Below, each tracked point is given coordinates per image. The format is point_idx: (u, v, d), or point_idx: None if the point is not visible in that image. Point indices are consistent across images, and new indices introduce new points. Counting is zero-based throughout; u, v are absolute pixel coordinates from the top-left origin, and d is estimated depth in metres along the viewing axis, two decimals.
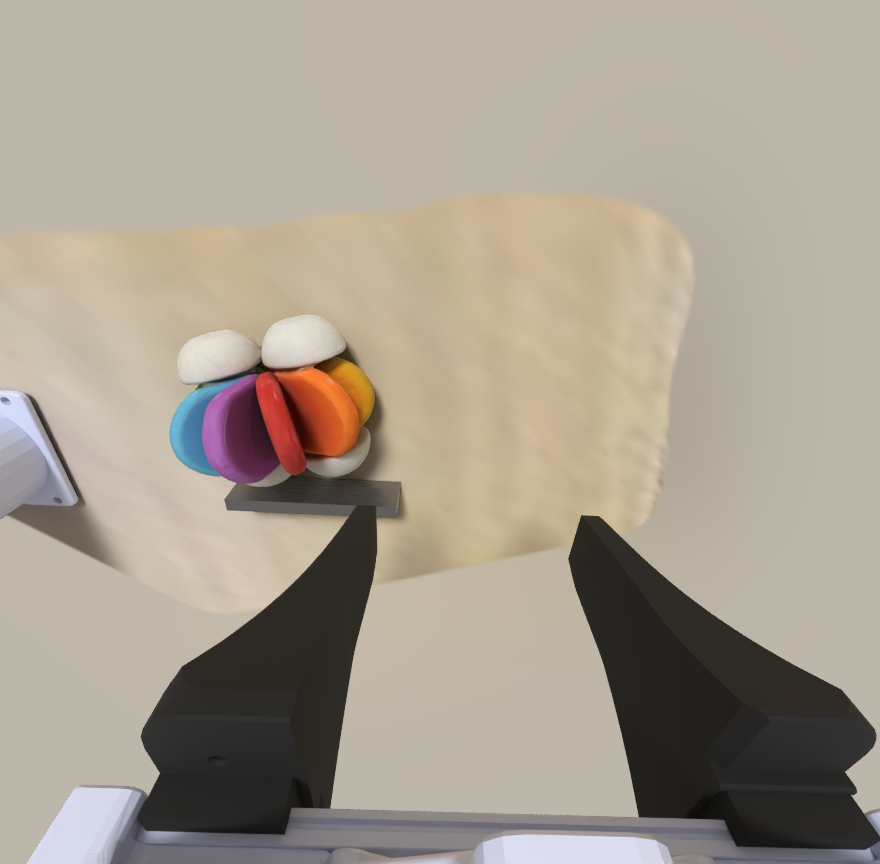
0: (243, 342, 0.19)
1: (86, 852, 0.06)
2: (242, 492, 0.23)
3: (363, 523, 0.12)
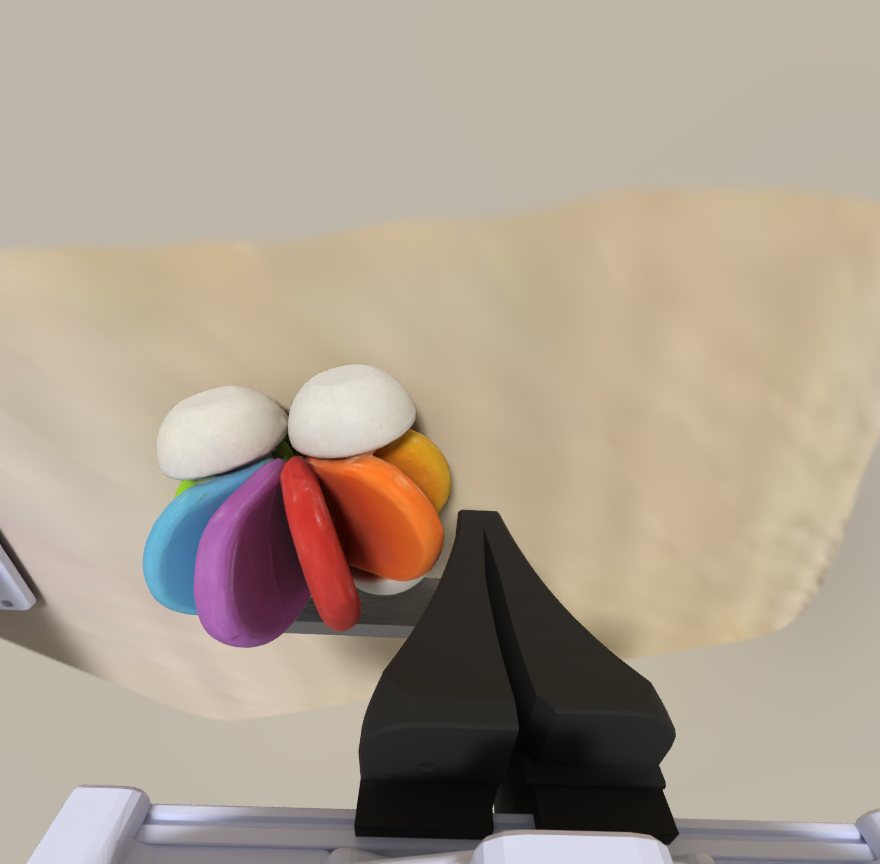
0: (259, 409, 0.12)
1: (86, 852, 0.06)
2: None
3: (476, 528, 0.12)
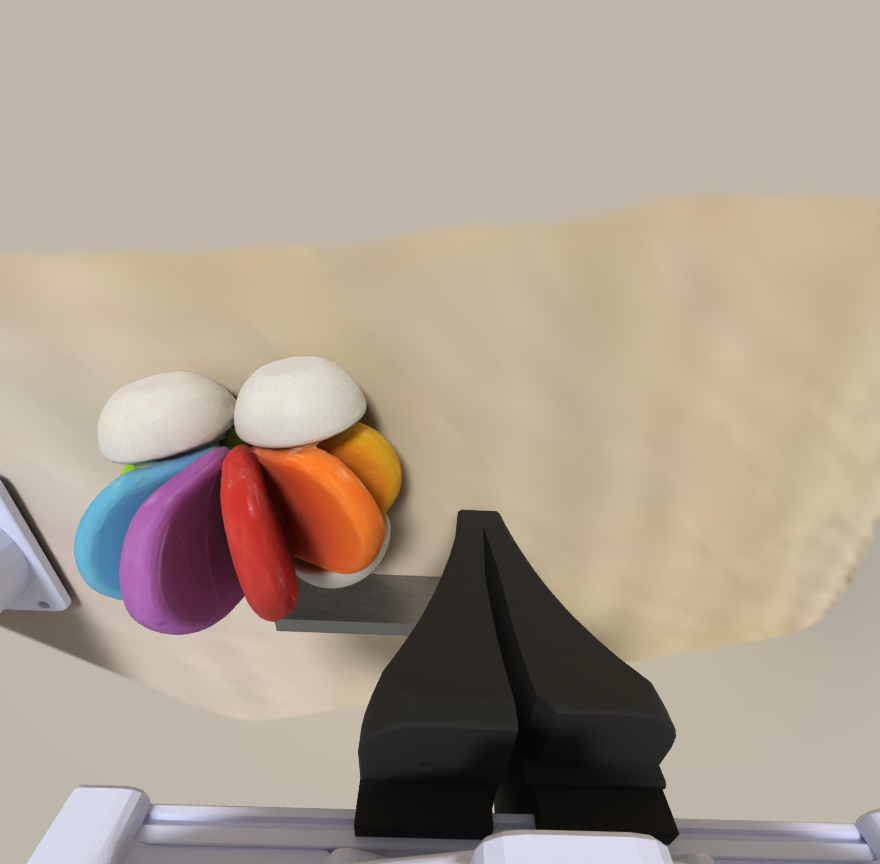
0: (206, 396, 0.12)
1: (86, 852, 0.06)
2: (297, 604, 0.17)
3: (476, 528, 0.12)
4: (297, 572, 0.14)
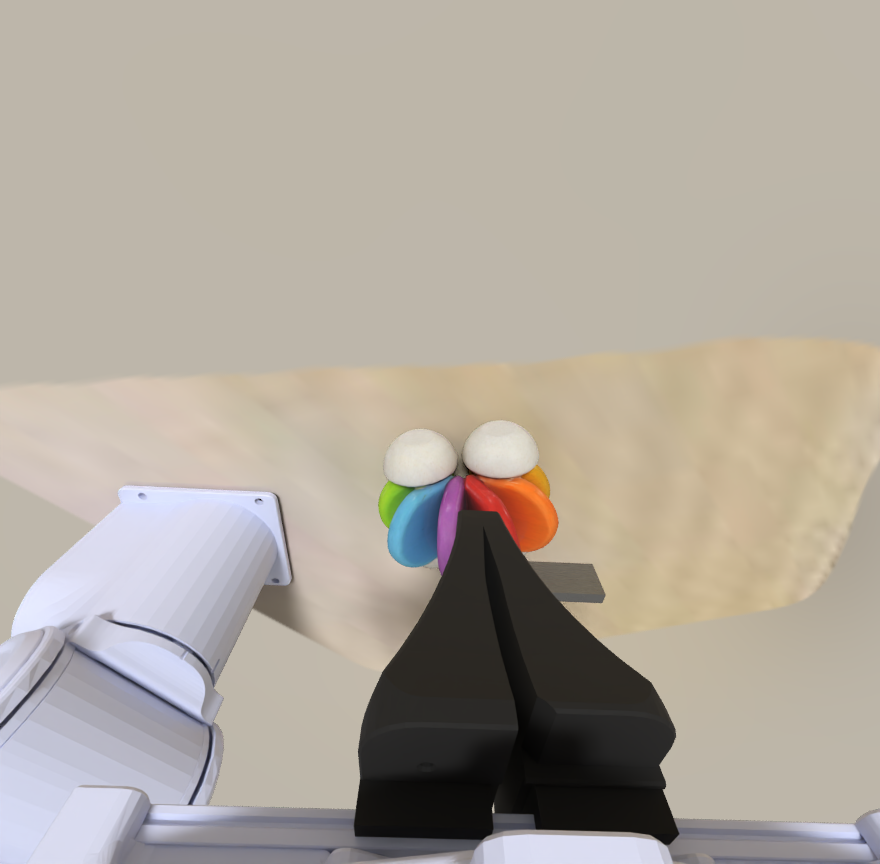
0: (447, 445, 0.20)
1: (86, 852, 0.06)
2: None
3: (476, 528, 0.12)
4: None
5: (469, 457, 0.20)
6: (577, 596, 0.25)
